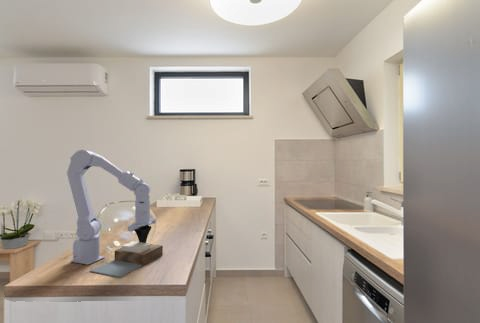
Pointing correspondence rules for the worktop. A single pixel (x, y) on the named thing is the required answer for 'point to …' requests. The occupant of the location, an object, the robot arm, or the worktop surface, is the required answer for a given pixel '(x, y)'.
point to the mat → (116, 268)
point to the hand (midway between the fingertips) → (142, 244)
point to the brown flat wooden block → (139, 255)
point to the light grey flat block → (136, 247)
